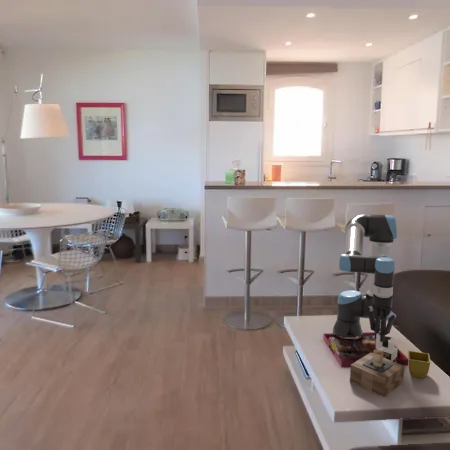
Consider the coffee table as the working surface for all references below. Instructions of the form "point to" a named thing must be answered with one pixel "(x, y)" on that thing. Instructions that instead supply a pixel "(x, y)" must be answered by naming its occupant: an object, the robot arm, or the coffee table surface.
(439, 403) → the coffee table surface
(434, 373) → the coffee table surface
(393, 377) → the socket block
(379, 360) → the peg
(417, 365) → the flower pot
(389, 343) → the medicine bottle
